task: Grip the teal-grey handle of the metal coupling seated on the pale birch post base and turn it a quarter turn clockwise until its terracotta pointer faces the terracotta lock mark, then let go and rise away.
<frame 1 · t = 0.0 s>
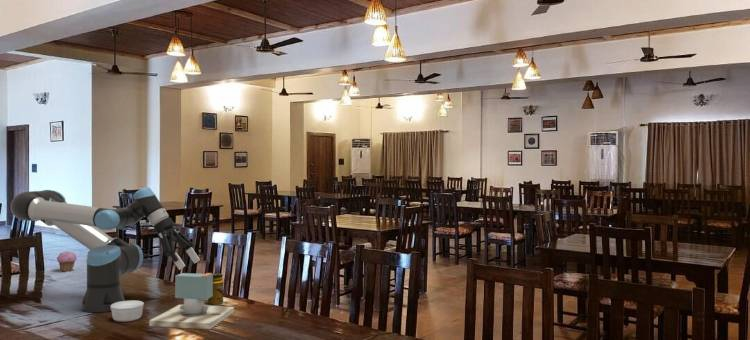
hand: (190, 264, 225), 15 cm above the table, tool tilted 35°, fingers open, 13 cm apart
ramekin: (127, 319, 201), on the table
coupling: (194, 292, 202), point 9 cm above the table, hinge at 0.0°
post base: (193, 318, 202), on the table
cupcake: (66, 271, 285), on the table
condiment: (213, 304, 224), on the table
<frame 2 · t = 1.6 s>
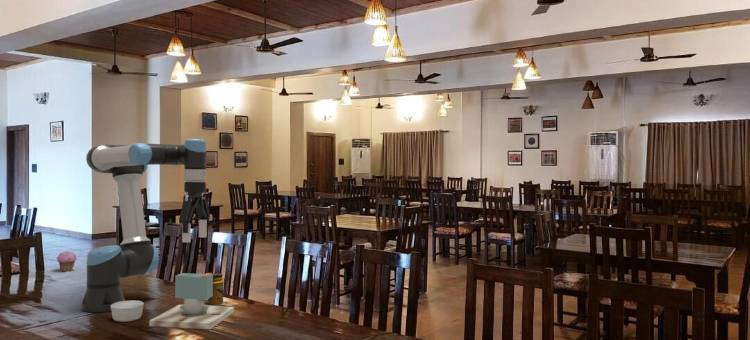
hand: (194, 239, 202), 29 cm above the table, tool pointing down, fingers open, 13 cm apart
nothing on the table moved.
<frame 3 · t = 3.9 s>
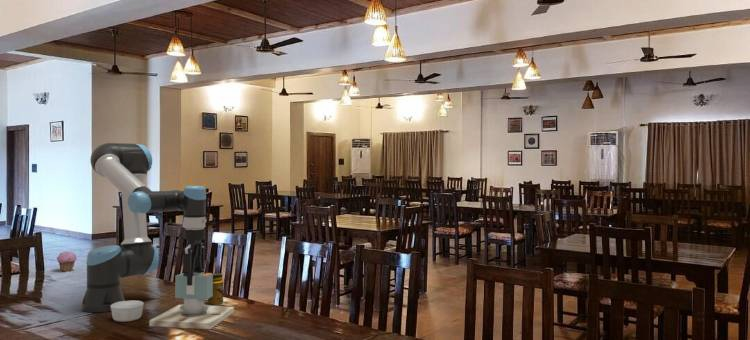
hand: (194, 292, 202), 10 cm above the table, tool pointing down, fingers closed on coupling, 5 cm apart
coupling: (194, 292, 202), point 9 cm above the table, hinge at 0.0°, touching gripper
everything else where it was.
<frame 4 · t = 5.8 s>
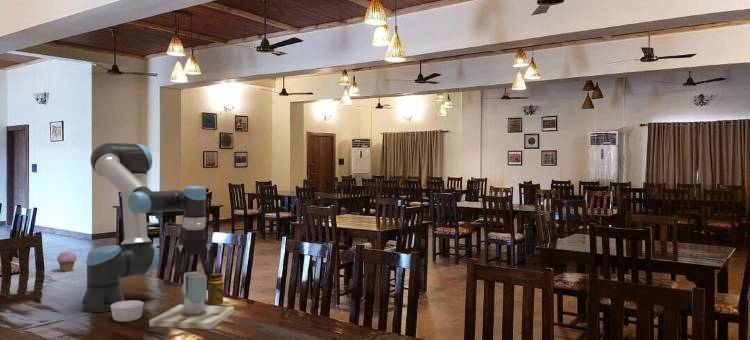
hand: (193, 291, 202), 10 cm above the table, tool pointing down, fingers closed on coupling, 6 cm apart
coupling: (194, 292, 202), point 9 cm above the table, hinge at -46.6°, touching gripper
everything else where it was.
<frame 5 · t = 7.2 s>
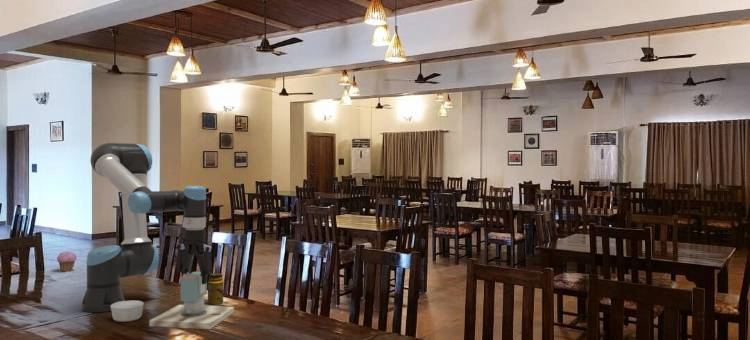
hand: (194, 291, 202), 10 cm above the table, tool pointing down, fingers closed on coupling, 6 cm apart
coupling: (194, 292, 202), point 9 cm above the table, hinge at -87.0°, touching gripper
everything else where it was.
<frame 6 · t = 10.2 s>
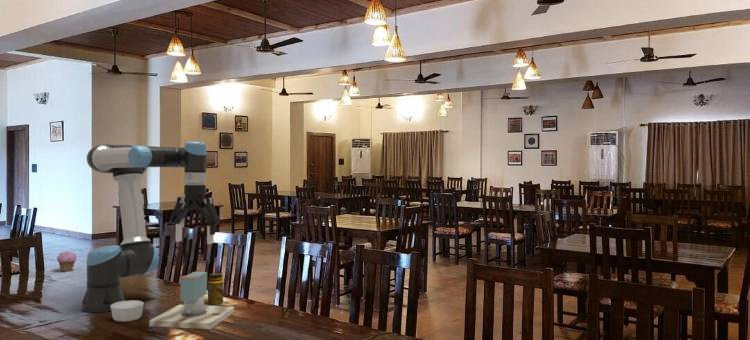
hand: (194, 242, 201), 28 cm above the table, tool pointing down, fingers open, 13 cm apart
coupling: (194, 292, 202), point 9 cm above the table, hinge at -87.2°
everything else where it was.
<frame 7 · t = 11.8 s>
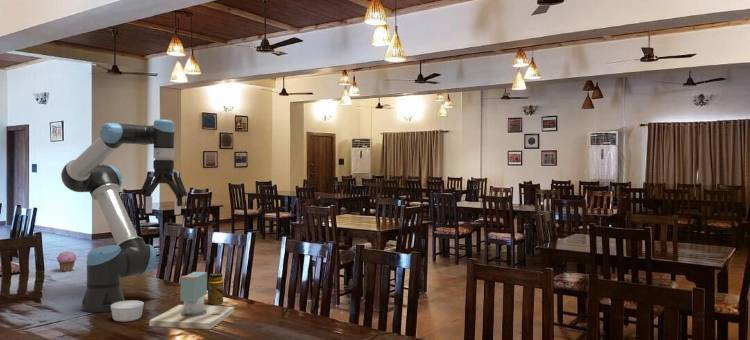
hand: (163, 213, 216), 37 cm above the table, tool pointing down, fingers open, 13 cm apart
nothing on the table moved.
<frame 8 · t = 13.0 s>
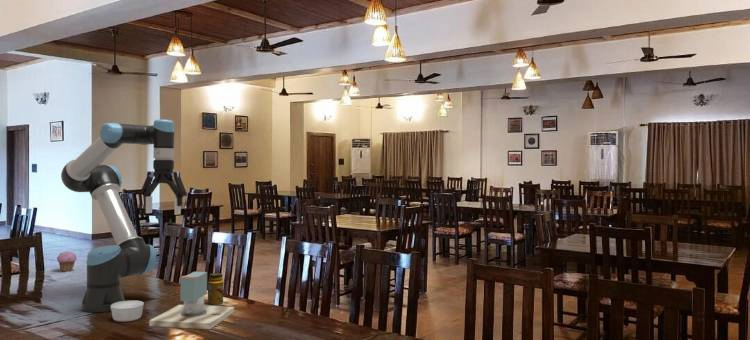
hand: (163, 213, 216), 37 cm above the table, tool pointing down, fingers open, 13 cm apart
nothing on the table moved.
at the end: coupling at -87° (first picture: +0°); the gripper is holding nothing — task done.
